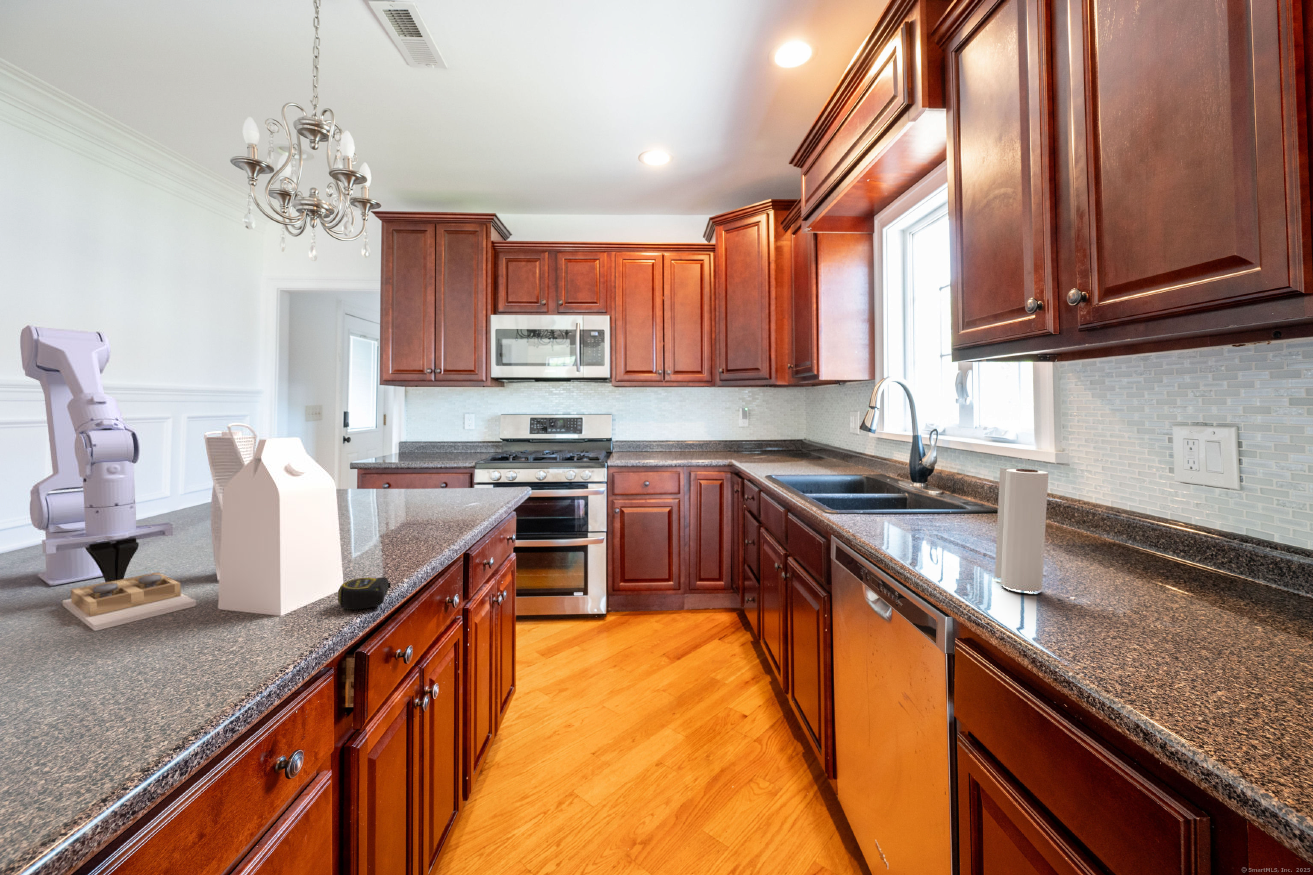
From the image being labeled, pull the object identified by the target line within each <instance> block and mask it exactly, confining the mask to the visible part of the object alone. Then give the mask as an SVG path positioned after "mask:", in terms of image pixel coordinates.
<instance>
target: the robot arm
mask: <svg viewBox="0 0 1313 875" xmlns="http://www.w3.org/2000/svg"><path fill="white" fill-rule="evenodd" d="M19 340H20V341H19V344H20V346H19V347H20V355H21V356H20V357H21V363H22V370H23V371H24V376H26V377H29V378H30V379H33V380H36V381H38V382H39V383H40V386H41V389H42V392H43V395H44V405H45V413H46V424H47V431H48V432H47V433H48V441H49V450H50V460H51V468H52V474H51V475H49V476H47V477H45V478H43V479H42V480H40V481H38V482H37V483H35V484H34V485H33V486H32V488H31V490H30V494H29V495H30V502H29V517H30V521H31V525H32V526H33V527H34V528H36V529H37V530H39V531H43V532H45V539H42V540H41V543H42V545H41V546H42V553H43V554H45V569H46V570H45V572H41V573H38V574H37V575H38V576H37V577H38V578H40V579H41V580H43V581H44V582H45V583H46V584H48V585H49V586H52V587H53V586H56V585H57V586H58V585H62V584H63V585H64V584H68V583H73V582H74V583H75V582H79V581H84V580H90V579H95V578H100V577H103V580H104V583H105V582H111V581H116V580H121V579H125V575H126V572H127V569H128V567H129V566H130V565H129V564H130V563H131V560H132V559H133V557H134V555H135V554H136V552H137V551H138V550H139V546H140V544H139V540H144V539H150V538H157V537H168V536H173V534H174V528H173V523H170V522H164V523H155V524H145V525H137V512H136V511H137V510H136V492H135V491H136V489H135V488H136V487H135V470H134V469H135V468H134V466H135V464H136V463H138V461H139V459H140V450H141V449H140V441H139V437H138V433H137V432H136V431H137V430H135V429H134V428H132V427H131V425H130V424H126V423H125V420H124V419H123V416H122V413H121V410H120V407H119V404H118V402H117V400H116V399H115V397H113V396H111V395H108V394H105V391H104V385H103V380H102V373H104V370H105V368H106V366H107V364H109V361H110V357H111V343H110V340H109V338H108V336H106V334H105V333H104V332H103V331H86V330H85V331H83V330H74V329H73V330H71V329H63V328H54V327H53V328H51V327H42V326H41V327H40V326H39V327H38V326H34V325H30V324H29V325H26V326H25V327H23V328H22V329H21V332H20V337H19ZM79 489H81V490H79ZM66 490H67V491H66ZM68 490H73V491H68ZM55 491H59V492H55ZM60 491H61V492H60ZM63 491H64V492H63ZM49 492H51V493H49ZM137 541H138V542H137Z"/></svg>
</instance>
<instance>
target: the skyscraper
mask: <svg viewBox="0 0 1313 875" xmlns="http://www.w3.org/2000/svg"><path fill="white" fill-rule="evenodd" d="M235 426H236V427H243V428H246V429H248V430H249V431H251V433H252V434H253V435H243V434H242V431H241V430H232V428H231V427H235ZM226 427H227V430H225V431H224V430H223V431H222V430H221V431H220V430H219V431H208V432H205V433H204V434H203V435H204V436H203V437H204V442H205V443H204V444H205V448H206V454H207V460H208V465H209V470H210V474H211V478H212V481H213V482H212V483H213V486H212V493H211V504H210V505H211V506H210V528H211V542H212V550H213V559H214V565H215V573H216V580H217V583H219V577H220V553H221V529H222V506H223V492H224V489H225V486H226V485H227V484H228V482H229V481H230V480H231V479H232V478H233V477H234V476H235V475H236V474H237V473H238V472H239V471H240V470H241V469H242V468H243V467H244V466H245V465H246V464H247V463H249V462H250V461H251V460H252V459H253V458H254V454H255V451H256V447H257V446H256V445H257V437H258V436H257V433H256V431H254V429H253V428H252V427H251V426H249V425H248V424H245V423H240V422H233V423H229V424H227V426H226ZM209 435H211V436H209ZM212 435H215V436H212ZM216 435H217V436H216Z"/></svg>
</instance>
